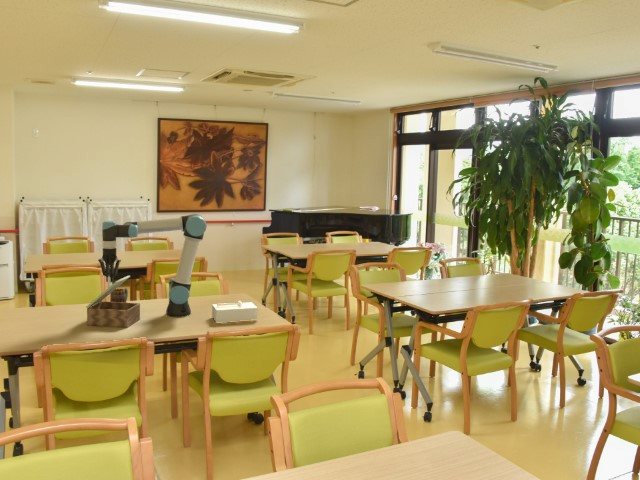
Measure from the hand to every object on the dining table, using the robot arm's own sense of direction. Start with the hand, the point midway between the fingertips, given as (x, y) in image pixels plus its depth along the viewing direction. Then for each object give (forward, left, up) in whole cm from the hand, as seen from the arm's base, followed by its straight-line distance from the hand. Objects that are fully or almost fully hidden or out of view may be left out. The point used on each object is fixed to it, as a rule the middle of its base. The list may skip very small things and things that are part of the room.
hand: (110, 287), depth 342 cm
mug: (+4, -22, -21) cm, 31 cm away
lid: (+1, 0, -3) cm, 3 cm away
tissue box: (-69, -21, -21) cm, 76 cm away
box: (-2, 0, -21) cm, 21 cm away
